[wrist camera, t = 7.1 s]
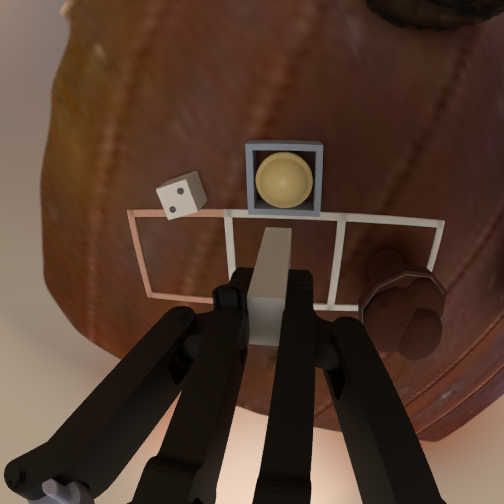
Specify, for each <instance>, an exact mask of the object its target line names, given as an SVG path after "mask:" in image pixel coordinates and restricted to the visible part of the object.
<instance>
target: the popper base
mask: <svg viewBox="0 0 504 504" xmlns="http://www.w3.org/2000/svg"><path fill="white" fill-rule="evenodd" d="M245 147H246V173H247V198H248V215H284V216H310V217H320V208H321V190H322V167H323V144H322V143H321V141H299V140H249V141H248V142H247V143H246V144H245ZM256 150H290V151H314V183H313V202H308V201H303V202H302V203H301V204H299V205H297V206H295V207H291V208H279V207H275V206H273V205H271V204H269V203H267V202H266V201H265V200H258V198H257V187H256V174H257V163H256Z"/></svg>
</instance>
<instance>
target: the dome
mask: <svg viewBox="0 0 504 504" xmlns="http://www.w3.org/2000/svg"><path fill="white" fill-rule="evenodd" d="M312 184H313V179H312V173H311V169H310V166H309V164H308V163H307V161H306V160H305V159H304V158H303V157H302V156H301V155H299V154H298V153H296V152H293V151H289V150H280V151H276V152H273V153H271V154H270V155H268V156H267V157H266V158H265V159H264V160H263V161H262V163H261V165H260V167H259V169H258V171H257V174H256V187H257V190H258V192H259V194H260V196H261V197H262V198H263V199H264V200H265V201H266V202H267V203H269V204H271V205H273V206H275V207H279V208H291V207H295V206H297V205H299V204H301V203H302V202H303V201H304V200H305V199H306V198H307V197H308V196H309V194H310V192H311V189H312Z"/></svg>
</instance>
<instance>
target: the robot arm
mask: <svg viewBox="0 0 504 504" xmlns="http://www.w3.org/2000/svg"><path fill="white" fill-rule="evenodd" d="M291 230H292V228H272V227H266V228H265V232H264V236H263V239H262V243H261V247H260V250H259V254H258V258H257V261H256V265H255V268H243V267H239V268H237V269H236V270H235V271H234V272H233V273H232V276H231V279H230V281H229V284H225V285H221V286H218V287H217V288H215V289H214V290H213V292H212V297H213V304H214V309H213V311H210V312H206V313H200V314H195V312H194V311H193V309H191V308H189V307H186V306H178V307H174V308H172V309H170V310H169V311H168V312H166V313H165V315H164V316H163V317H162V318H161V319H160V320H159V321H158V322H157V323H156V324H155V325H154V326H153V327H152V328H151V329H150V330H149V331H148V332H147V333H146V335H145V336H144V337H143V338H142V339H141V340H140V341H139V342H138V343H137V344H136V345H135V346H134V347H133V348H132V349H131V350H130V352H129V353H128V354H127V355H126V356H125V357H124V358H123V359H122V360H121V361H120V362H119V363H118V364H117V366H116V367H115V368H114V369H113V370H112V371H111V372H110V373H109V374H108V375H107V376H106V378H104V380H103V381H102V382H101V383H100V384H99V385H98V386H97V387H96V388H95V389H94V391H93V392H92V393H91V394H90V395H89V396H88V397H87V398H86V399H85V400H84V401H83V402H82V404H81V405H80V406H79V407H78V408H77V409H76V410H75V411H74V412H73V414H72V415H71V416H70V417H69V418H68V419H67V420H66V421H65V422H64V424H63V425H62V426H61V427H60V428H59V429H58V430H57V431H56V433H55V434H54V435H53V436H52V437H51V438H50V439H49V440H48V442H46V443H44V444H42V445H40V446H38V447H37V448H35V449H33V450H31V451H29V452H27V453H25V454H23V455H22V456H20V457H18V458H16V459H14V460H12V461H11V462H9V463H8V464H7V466H6V468H5V471H4V478H5V482H6V484H7V486H8V488H10V489H11V490H12V491H13V492H15V493H17V494H19V495H20V496H22V497H24V498H26V499H27V500H28V502H29V504H94V499H95V498H96V497H98V496H99V495H101V494H102V493H103V492H104V491H105V490H107V489H108V488H109V486H110V485H111V484H112V483H113V482H114V481H115V480H116V478H117V477H118V476H119V474H120V473H121V472H122V470H123V469H124V467H125V466H126V465H127V464H128V462H129V461H130V460H131V459H132V457H133V456H134V455H135V453H136V452H137V451H138V449H139V448H140V446H141V445H142V444H143V442H144V441H145V440H146V438H147V437H148V436H149V434H150V433H151V432H152V430H153V429H154V428H155V426H156V425H157V424H158V422H159V421H160V419H161V418H162V417H163V415H164V414H165V413H166V411H167V410H168V409H169V407H170V406H171V404H172V403H173V402H174V400H175V399H176V398H177V396H178V395H179V393H180V392H181V391H182V392H181V395H180V397H179V400H178V403H177V405H176V408H175V410H174V413H173V416H172V418H171V421H170V424H169V426H168V429H167V432H166V434H165V437H164V440H163V442H162V445H161V448H160V450H159V452H158V454H157V456H154V457H152V458H150V459H149V460H148V462H147V463H146V465H145V467H144V470H143V473H142V475H141V478H140V481H139V483H138V486H137V489H136V491H135V494H134V497H133V499H132V502H129V503H127V504H215V501H216V487H217V481H218V478H219V474H220V470H221V466H222V462H223V457H224V453H225V449H226V445H227V441H228V437H229V432H230V428H231V424H232V419H233V415H234V411H235V407H236V402H237V398H238V394H239V389H240V385H241V381H242V376H243V372H244V367H245V363H246V358H247V354H248V348H247V344H248V340H249V344H258V345H270V346H279V347H278V354H277V362H276V369H275V377H274V384H273V391H272V398H271V405H270V411H269V418H268V425H267V431H266V437H265V443H264V450H263V455H262V461H261V467H260V472H259V476H258V479H257V483H256V488H255V493H254V498H253V503H252V504H310V500H311V480H310V471H311V458H312V457H311V456H312V442H313V424H314V398H315V367H318V368H322V369H323V372H324V375H325V378H326V381H327V384H328V388H329V391H330V394H331V397H332V400H333V403H334V407H335V410H336V413H337V416H338V420H339V423H340V426H341V430H342V433H343V436H344V440H345V443H346V446H347V450H348V453H349V457H350V460H351V463H352V467H353V470H354V474H355V477H356V481H357V484H358V488H359V492H360V495H361V499H362V503H363V504H447V503H446V502H445V501H444V500H443V499H442V498H441V496H440V493H439V491H438V488H437V485H436V482H435V480H434V477H433V475H432V472H431V469H430V467H429V464H428V462H427V460H426V457H425V454H424V452H423V450H422V448H421V445H420V443H419V440H418V438H417V435H416V433H415V431H414V429H413V426H412V424H411V422H410V419H409V417H408V415H407V413H406V411H405V408H404V406H403V404H402V402H401V400H400V398H399V395H398V393H397V391H396V389H395V387H394V385H393V383H392V381H391V379H390V377H389V374H388V372H387V370H386V368H385V366H384V364H383V362H382V360H381V358H380V356H379V354H378V352H377V350H376V348H375V346H374V345H373V343H372V341H371V339H370V337H369V335H368V333H367V331H366V329H365V327H364V325H363V324H362V323H361V322H360V321H359V320H357V319H356V318H352V317H340V318H337V319H336V320H335V321H334V322H329V321H326V320H324V319H322V318H320V317H319V316H317V315H316V313H315V312H314V307H313V276H312V275H311V273H310V272H309V270H294V269H290V259H291Z"/></svg>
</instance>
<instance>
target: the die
mask: <svg viewBox="0 0 504 504" xmlns="http://www.w3.org/2000/svg"><path fill="white" fill-rule="evenodd" d="M156 191H157V193H158V196H159V198H160V201H161V203H162V206H163V208H164V211H165V213H166V215H167V218H168V220H170V219H174V218H178V217H181V216H185V215H188V214H192V213H196V212H198V211H199V210H200V209H201V208H202V207H203V205H204V204H205V203H206V202H207V201H208V200H207V197H206V194H205V192H204V189H203V186H202V183H201V181H200V178H199V175H198V172H197V171H194V172H191V173H188V174H185V175H182V176H179V177H176V178H173V179H170V180H168V181H167V182H165V183H164V184H163V185H161V186H160V187H158V188H157V189H156Z"/></svg>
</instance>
